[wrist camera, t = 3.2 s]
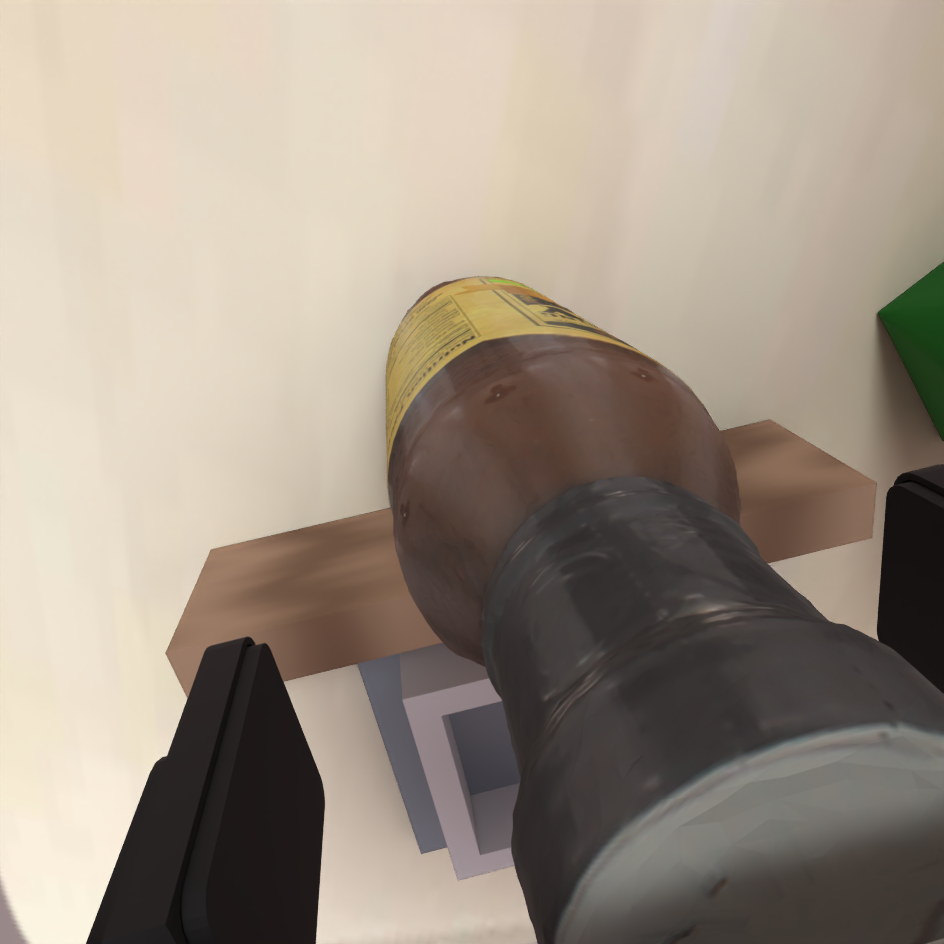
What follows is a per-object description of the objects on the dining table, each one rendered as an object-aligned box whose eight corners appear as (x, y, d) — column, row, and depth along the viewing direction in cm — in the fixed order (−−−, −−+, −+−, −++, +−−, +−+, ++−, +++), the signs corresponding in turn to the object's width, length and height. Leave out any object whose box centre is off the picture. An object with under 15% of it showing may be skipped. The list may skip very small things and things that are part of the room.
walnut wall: (769, 419, 26) (876, 482, 20) (769, 465, 27) (872, 537, 21) (210, 549, 25) (165, 653, 19) (229, 593, 26) (190, 704, 20)
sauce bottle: (588, 386, 24) (1228, 983, 6) (442, 472, 25) (634, 1254, 7) (505, 225, 22) (1195, 439, 3) (344, 325, 22) (222, 958, 4)
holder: (677, 530, 27) (721, 580, 24) (692, 768, 33) (730, 836, 30) (344, 610, 27) (340, 673, 23) (420, 839, 32) (425, 917, 29)
